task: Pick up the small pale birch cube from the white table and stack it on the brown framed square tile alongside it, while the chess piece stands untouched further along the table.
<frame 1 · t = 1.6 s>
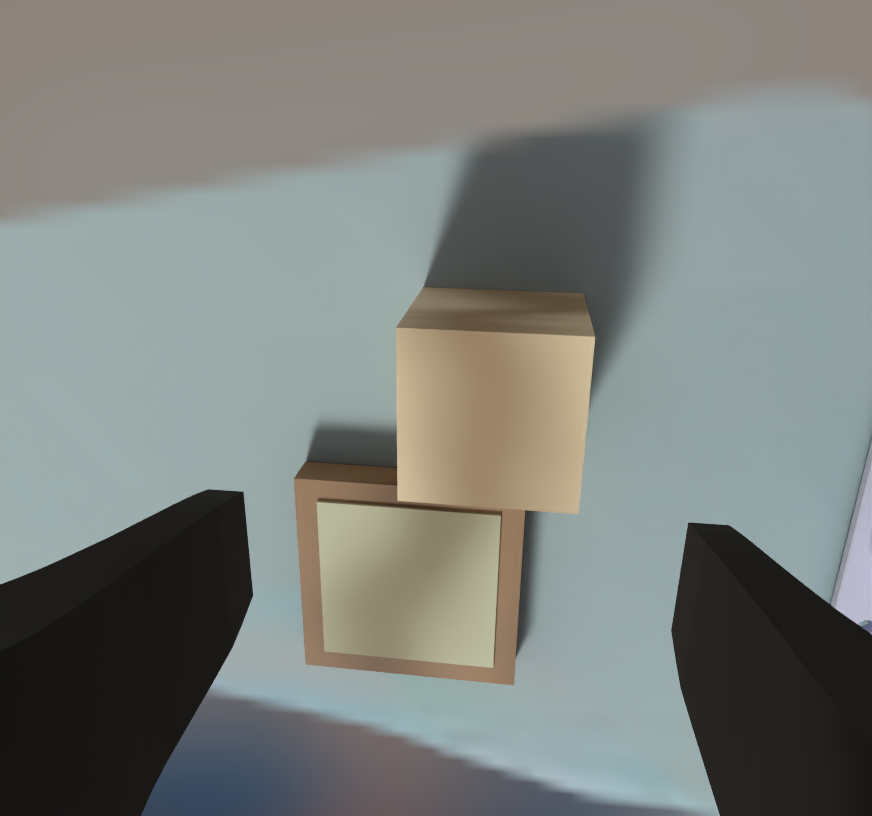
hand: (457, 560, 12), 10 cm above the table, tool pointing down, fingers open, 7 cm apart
birch cube: (499, 365, 22), on the table
brown framed square tile: (413, 564, 24), on the table
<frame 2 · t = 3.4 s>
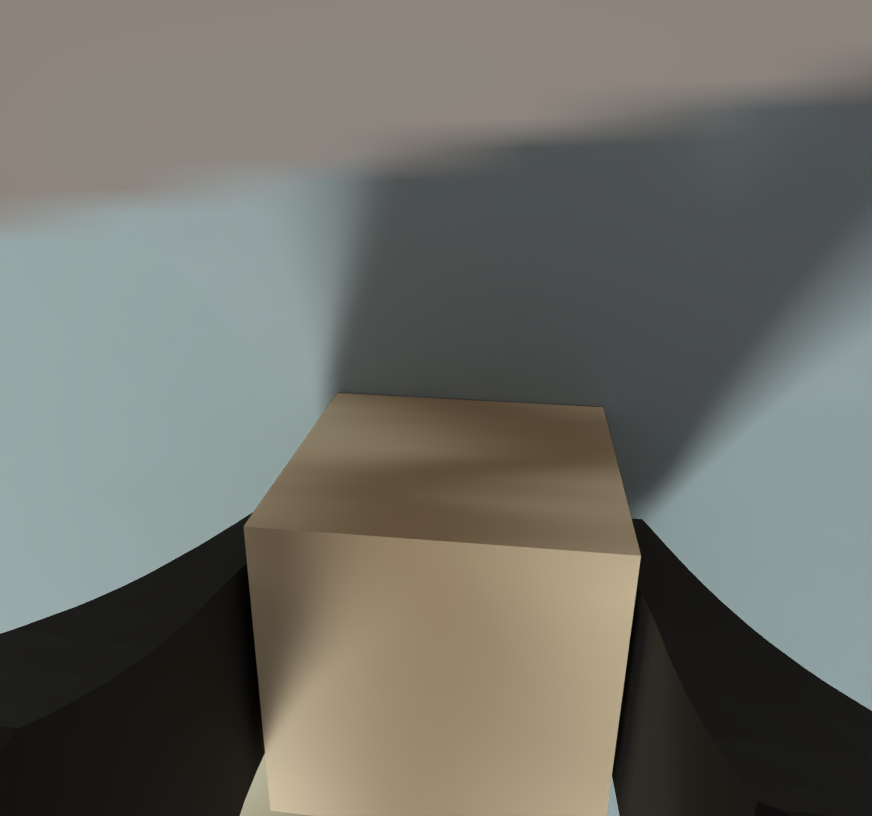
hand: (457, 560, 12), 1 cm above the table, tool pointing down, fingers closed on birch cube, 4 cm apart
birch cube: (464, 516, 13), on the table, touching gripper
brown framed square tile: (341, 791, 16), on the table
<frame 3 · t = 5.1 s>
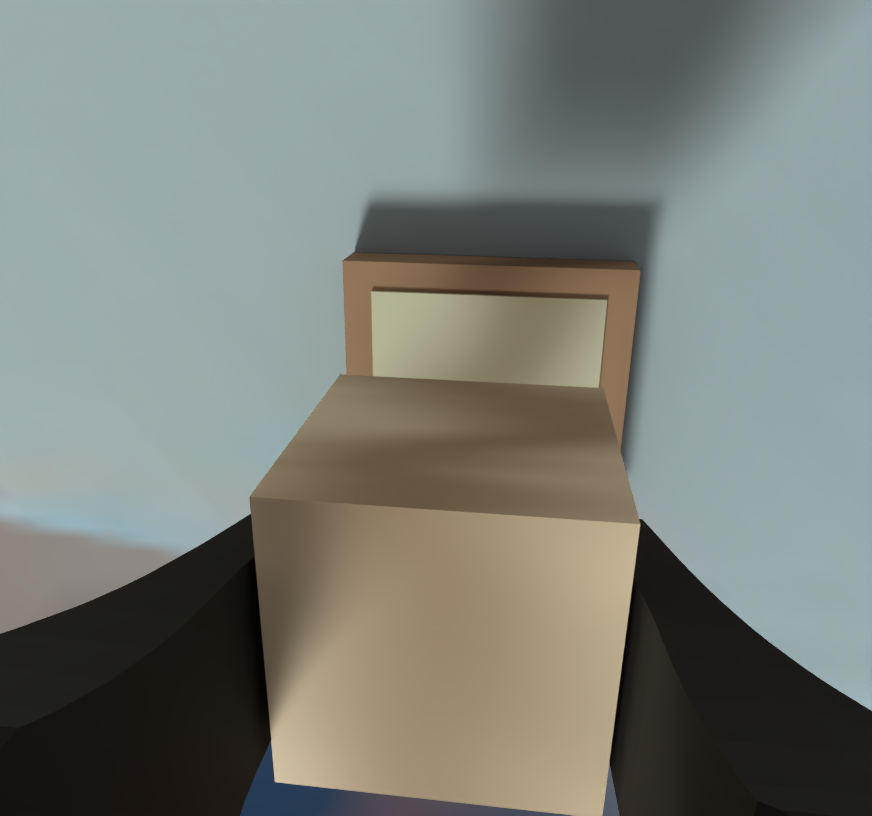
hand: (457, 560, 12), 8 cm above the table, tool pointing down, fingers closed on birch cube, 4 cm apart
birch cube: (465, 497, 13), point 7 cm above the table, touching gripper
brown framed square tile: (486, 388, 20), on the table
when the fingers open (4 cm above the table, at t = 6.8 s): birch cube stays where it is, resting on brown framed square tile.
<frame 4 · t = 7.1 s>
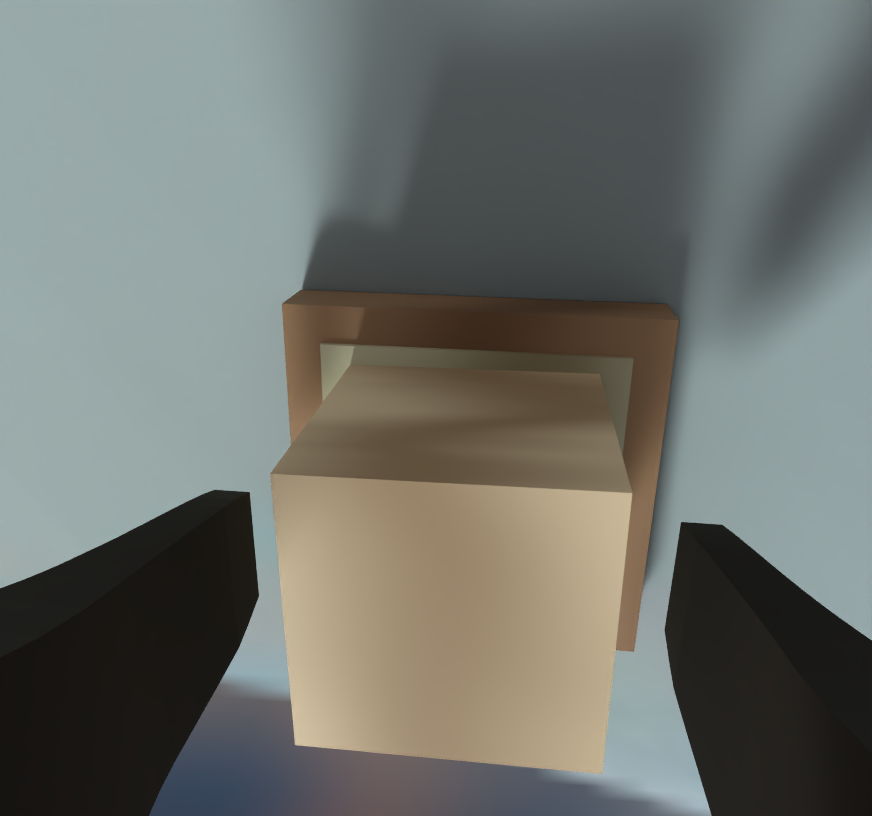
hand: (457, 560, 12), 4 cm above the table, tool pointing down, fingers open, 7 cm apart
birch cube: (470, 481, 14), point 1 cm above the table, touching brown framed square tile
brown framed square tile: (473, 462, 15), on the table
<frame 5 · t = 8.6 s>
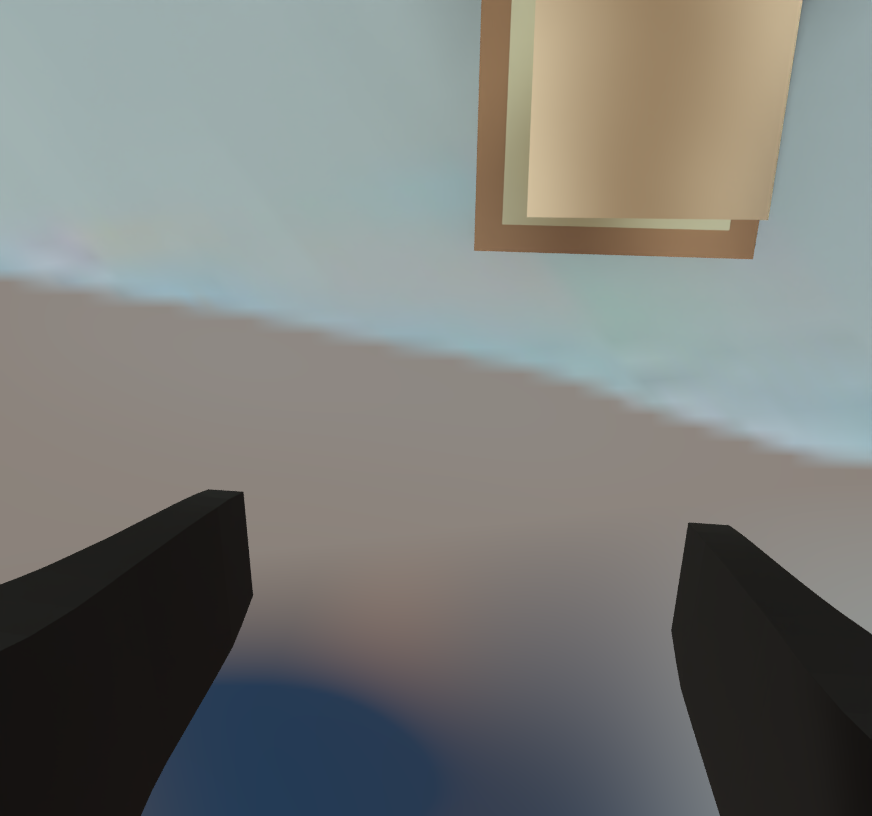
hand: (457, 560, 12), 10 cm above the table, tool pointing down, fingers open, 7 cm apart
birch cube: (627, 97, 17), point 1 cm above the table, touching brown framed square tile
brown framed square tile: (619, 107, 19), on the table
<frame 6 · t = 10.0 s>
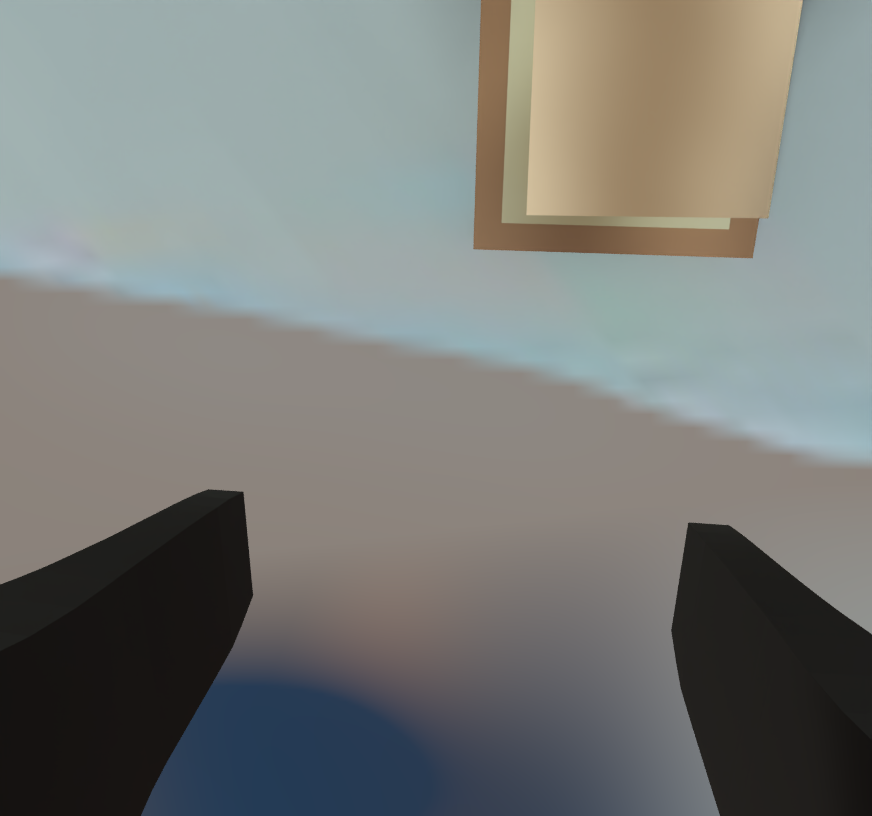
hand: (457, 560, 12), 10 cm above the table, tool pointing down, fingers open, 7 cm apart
birch cube: (627, 95, 17), point 1 cm above the table, touching brown framed square tile
brown framed square tile: (619, 106, 19), on the table
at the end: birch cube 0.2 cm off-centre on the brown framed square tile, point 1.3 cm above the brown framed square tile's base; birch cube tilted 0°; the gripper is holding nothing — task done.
